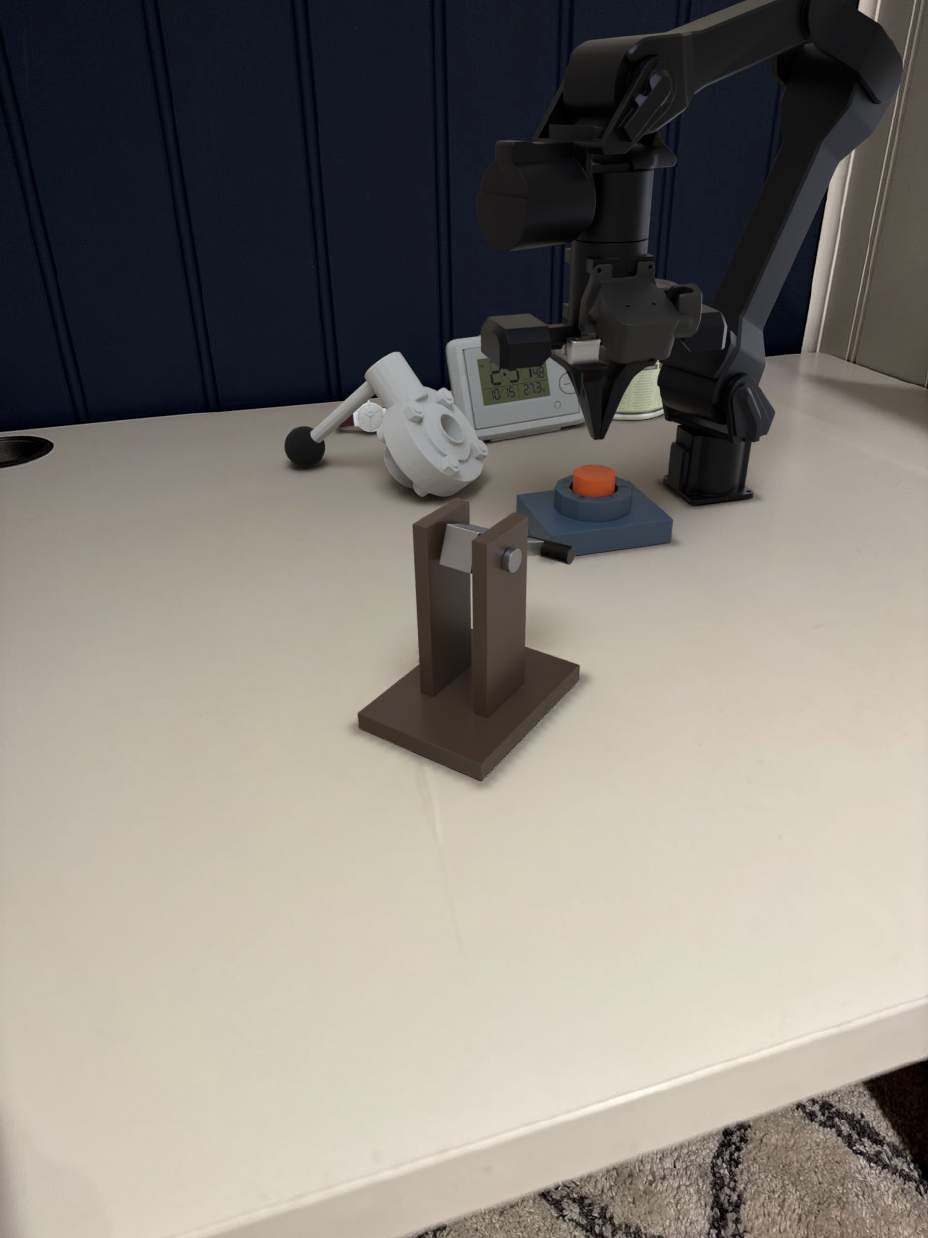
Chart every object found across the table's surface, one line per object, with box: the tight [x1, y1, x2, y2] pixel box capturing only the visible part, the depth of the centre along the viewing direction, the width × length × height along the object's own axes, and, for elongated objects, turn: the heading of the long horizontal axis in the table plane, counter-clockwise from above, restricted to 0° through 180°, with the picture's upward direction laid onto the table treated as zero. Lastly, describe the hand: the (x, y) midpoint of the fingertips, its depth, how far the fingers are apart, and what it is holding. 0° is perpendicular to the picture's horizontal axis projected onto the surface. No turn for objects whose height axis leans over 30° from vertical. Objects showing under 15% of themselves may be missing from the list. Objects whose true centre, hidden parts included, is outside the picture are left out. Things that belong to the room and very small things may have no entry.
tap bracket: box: [357, 497, 581, 781], centre depth 54 cm, size 12×9×13 cm
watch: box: [337, 399, 386, 433], centre depth 103 cm, size 8×5×4 cm, turn 104°
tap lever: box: [439, 523, 576, 575], centre depth 55 cm, size 10×5×2 cm, turn 146°
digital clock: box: [445, 334, 585, 443], centre depth 100 cm, size 16×9×11 cm, turn 103°
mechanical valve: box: [283, 351, 489, 498], centre depth 89 cm, size 10×18×15 cm
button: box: [572, 464, 617, 497], centre depth 77 cm, size 4×4×2 cm
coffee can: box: [586, 278, 679, 421], centre depth 105 cm, size 10×10×14 cm
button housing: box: [515, 474, 674, 557], centre depth 78 cm, size 11×9×4 cm
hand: (597, 438), depth 75 cm, fingers closed
